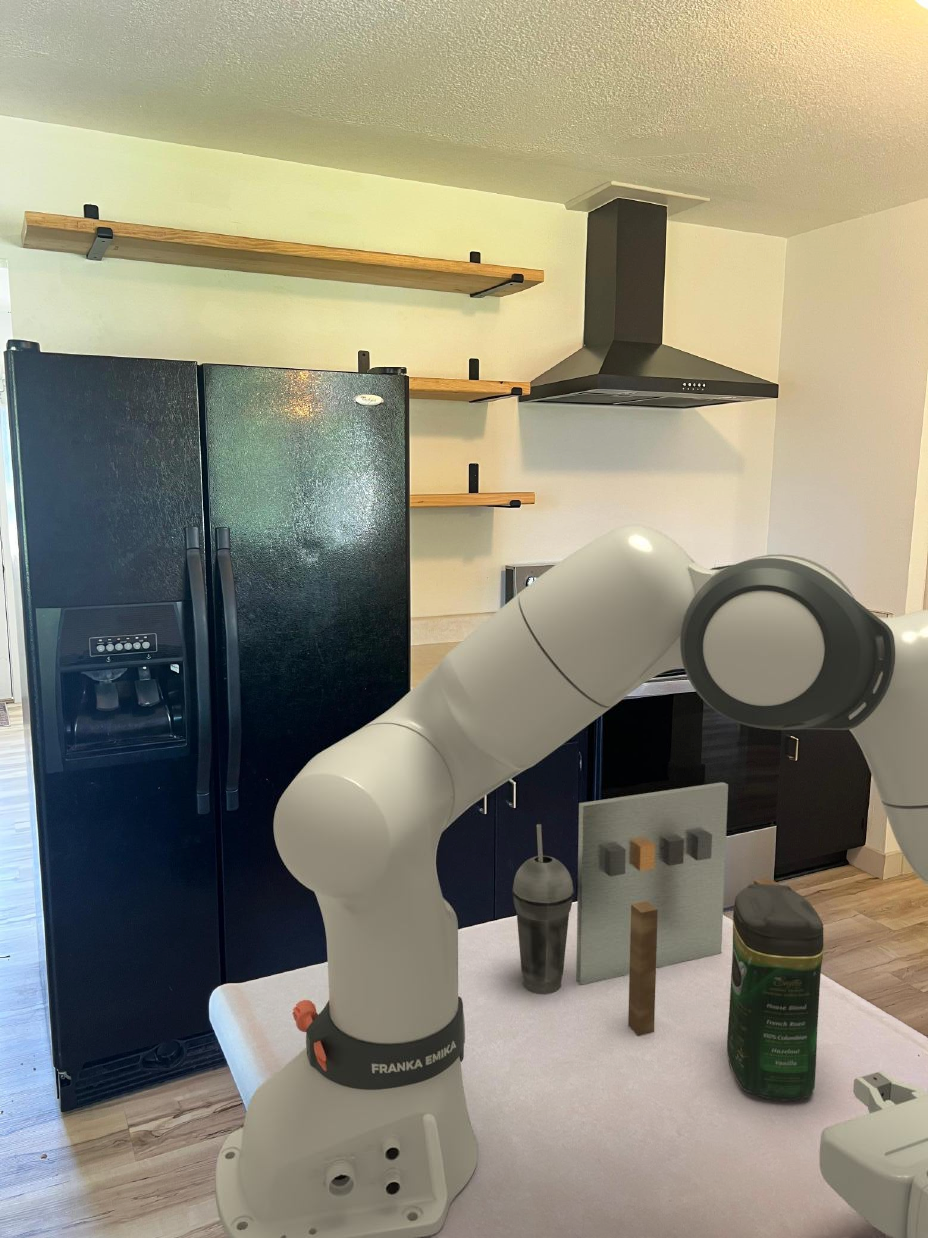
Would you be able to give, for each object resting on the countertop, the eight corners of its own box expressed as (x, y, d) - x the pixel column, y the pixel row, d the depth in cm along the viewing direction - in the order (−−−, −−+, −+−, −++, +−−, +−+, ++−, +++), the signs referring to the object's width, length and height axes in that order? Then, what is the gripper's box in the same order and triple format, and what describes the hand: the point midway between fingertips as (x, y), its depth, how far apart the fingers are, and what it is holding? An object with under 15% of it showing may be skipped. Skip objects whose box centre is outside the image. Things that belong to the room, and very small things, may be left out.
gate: (638, 1036, 96) (641, 912, 94) (628, 1025, 97) (631, 904, 95) (774, 1001, 102) (780, 884, 100) (762, 992, 104) (768, 877, 102)
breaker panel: (585, 990, 104) (588, 809, 101) (576, 981, 106) (579, 803, 103) (727, 957, 111) (734, 787, 108) (716, 949, 113) (723, 782, 110)
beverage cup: (583, 978, 107) (586, 818, 104) (556, 1008, 101) (557, 838, 98) (529, 961, 111) (530, 806, 108) (500, 988, 105) (500, 825, 102)
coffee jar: (825, 1108, 84) (836, 923, 82) (739, 1103, 85) (747, 919, 82) (797, 1045, 94) (806, 877, 91) (720, 1041, 95) (726, 875, 92)
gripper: (1115, 1122, 68) (957, 1022, 81) (912, 1200, 61) (774, 1076, 73) (1107, 1197, 69) (952, 1086, 82) (906, 1282, 62) (770, 1145, 74)
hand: (866, 1081), depth 78 cm, fingers closed
